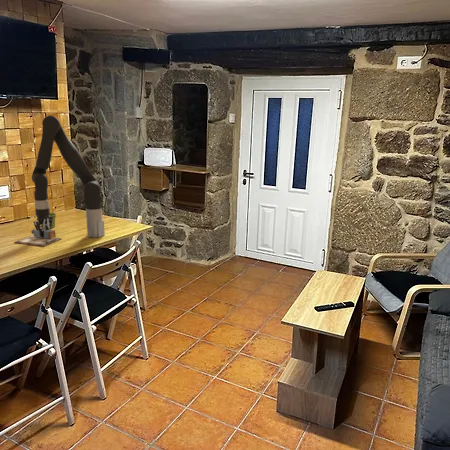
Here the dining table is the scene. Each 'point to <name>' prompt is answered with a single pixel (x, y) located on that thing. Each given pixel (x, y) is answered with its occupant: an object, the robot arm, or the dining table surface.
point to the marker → (45, 233)
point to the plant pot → (53, 219)
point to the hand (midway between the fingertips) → (44, 235)
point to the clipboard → (37, 241)
